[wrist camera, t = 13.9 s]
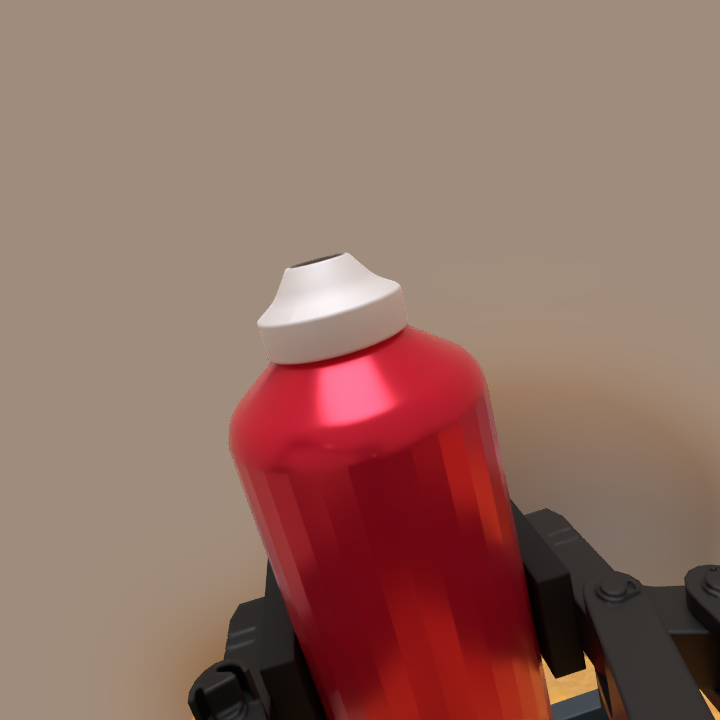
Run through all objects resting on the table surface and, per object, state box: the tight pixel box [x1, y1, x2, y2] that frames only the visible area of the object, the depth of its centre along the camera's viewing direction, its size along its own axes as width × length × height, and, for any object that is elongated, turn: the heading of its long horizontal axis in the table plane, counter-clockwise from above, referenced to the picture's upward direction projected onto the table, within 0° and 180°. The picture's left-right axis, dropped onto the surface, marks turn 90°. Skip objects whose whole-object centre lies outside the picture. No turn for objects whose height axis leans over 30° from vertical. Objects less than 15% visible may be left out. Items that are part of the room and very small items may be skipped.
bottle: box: [229, 253, 553, 720], centre depth 13 cm, size 5×6×20 cm
